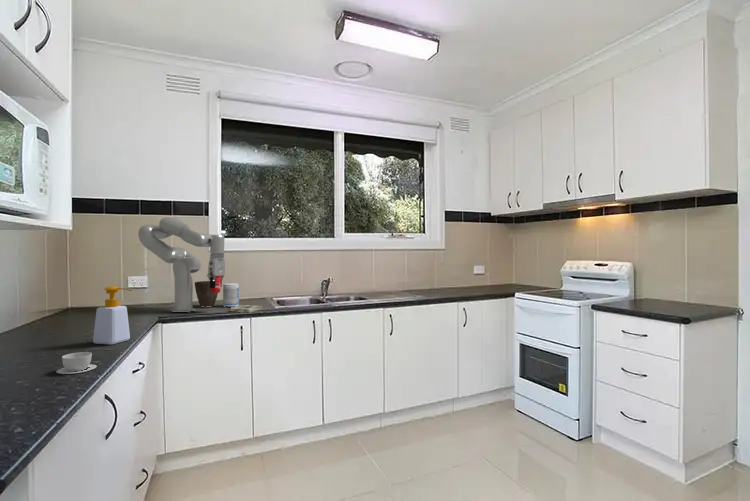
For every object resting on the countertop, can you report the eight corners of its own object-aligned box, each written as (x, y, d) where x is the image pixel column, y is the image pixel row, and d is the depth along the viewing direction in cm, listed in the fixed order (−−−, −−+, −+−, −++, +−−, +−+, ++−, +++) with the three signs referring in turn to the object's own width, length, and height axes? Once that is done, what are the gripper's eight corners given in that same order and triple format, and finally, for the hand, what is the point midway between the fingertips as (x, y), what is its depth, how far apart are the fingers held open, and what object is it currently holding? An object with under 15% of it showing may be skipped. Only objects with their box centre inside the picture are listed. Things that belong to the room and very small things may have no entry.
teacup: (99, 370, 125) (100, 355, 125) (59, 377, 118) (59, 361, 118) (92, 364, 132) (93, 349, 132) (53, 370, 125) (54, 354, 125)
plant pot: (201, 305, 266) (201, 280, 266) (223, 305, 266) (223, 281, 266) (189, 308, 252) (190, 282, 251) (213, 309, 251) (213, 282, 251)
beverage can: (210, 293, 233) (211, 272, 233) (211, 291, 238) (212, 271, 238) (219, 293, 234) (220, 272, 234) (220, 292, 239) (221, 271, 239)
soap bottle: (121, 346, 155) (122, 287, 155) (91, 344, 158) (91, 286, 158) (140, 340, 165) (141, 285, 164) (111, 339, 167) (111, 284, 167)
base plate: (228, 311, 240) (228, 308, 240) (241, 308, 254) (241, 305, 254) (249, 313, 236) (249, 309, 236) (262, 309, 250) (262, 306, 250)
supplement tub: (240, 307, 260) (241, 283, 260) (225, 308, 254) (225, 284, 254) (236, 305, 268) (236, 282, 268) (221, 306, 262) (221, 283, 262)
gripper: (213, 256, 227) (211, 289, 227) (231, 256, 243) (230, 286, 244) (201, 256, 229) (200, 288, 229) (220, 255, 245) (219, 286, 245)
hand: (215, 287), depth 236 cm, fingers closed on beverage can, 5 cm apart
